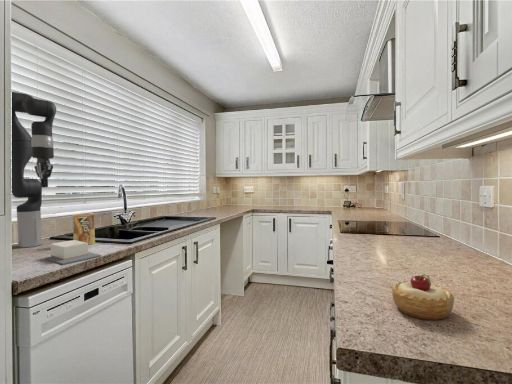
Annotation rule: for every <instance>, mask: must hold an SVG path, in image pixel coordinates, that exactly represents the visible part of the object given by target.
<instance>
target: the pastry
mask: <svg viewBox="0 0 512 384" xmlns="http://www.w3.org/2000/svg"><path fill="white" fill-rule="evenodd" d="M391 293H392V300H393V302H394V304H395V306H396V307H397V309H398V310H399V311H400V312H401V313H403V314H405V315H407V316H410V317H413V318H416V319H419V320H426V321H443V320H445V319H446V318H448V317H449V315H450V314H451V313H452V311H453V309H454V303H455V297H454V295H453V294H452V293H451V291H450V290H449V289H446V288H444V287H443V286H439V285H437V284H432V282H431V278H430V275H428V274H427V273H424V274H421V275H414V276H413V277H411V278H410V281H407V280H404V281H398V282H397V283H395V284H394V285H393V286H392V288H391Z"/></svg>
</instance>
